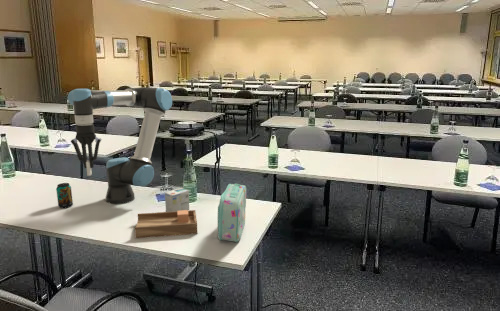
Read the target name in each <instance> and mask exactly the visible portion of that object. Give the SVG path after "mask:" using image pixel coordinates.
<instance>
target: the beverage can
mask: <svg viewBox="0 0 500 311" xmlns="http://www.w3.org/2000/svg"><path fill="white" fill-rule="evenodd" d="M55 191H56V198H57V205H58V207H59V208H61V209H67V208H71V207H72V206H73V205H74V201H73V194H72V187H71V184H70V183H67V182H62V183H59V184H57V187H56V189H55Z"/></svg>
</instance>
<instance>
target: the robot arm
mask: <svg viewBox="0 0 500 311" xmlns="http://www.w3.org/2000/svg"><path fill="white" fill-rule="evenodd" d="M67 100H68V103H69V105H71V106H73V110H74V122H75V137H74V138H72V139H71V140H70V143H71V144H72V145H73V148H74V150H75V154H76V155H77V159H78V160H79V161H81V162H83V168H84V169H86V175H87V177H91V176H92V175H93V173H92V169H93V168H94V161H95V160H97V159H98V154H99V148H100V143H101V142H102V138H100V137H97V135H96V133H95V125H94V122H95V121H94V111H93V110H96V109H106V108H110V107H112V106H122V105H123V106H127V107H135V108H142V110H143V111H144V116H143V120H142V124H141V127H140V131H139V136H138V139H137V143H136V147H135V150H134V155H132V156H131V157H130V158H128V157H125V156H123V157H117V158H116V157H115V158H112V159H109V160H107V161H106V168H105V169H106V177H107V178H106V179H107V187H108V188H107V191H106V194H105V201H106V203H108V204H113V205H122V204H127V203H129V202H132V201H133V200H135V197H136V196H135V192H134V190H133V187H132V185H133V186H135V187H145V186H147V185H150V183H151V182H152V181H153V179H154V176H155V171H154V170H155V169H154V167H153V166H152V164H153V162H152V161H151V157H152V153H153V149H154V145H155V141H156V139H157V133H158V130H159V126H160V122H161V119H162V118H163V117H164V116H165V114H166V112H167V111H169V110H170V109H171V108H172V106H173V96H172V94H171V92H170V91H169V90H168V89H166V88H163V87H149V86H148V87H147V86H142V87H136V88H135V87H134V88H126V89H124V90H117V89H116V90H112V89H111V90H104V89H103V90H97V89H96V90H94V89H93V90H91V89H90V88H75V89H72V90H71V91H69V93H68V95H67ZM94 141H95V146H94V151H93V143H94ZM78 142H79V144H80V145H81V149H80V147H79V144H78ZM87 150H88V151H87ZM81 151H82V152H81ZM87 152H88V156H87Z"/></svg>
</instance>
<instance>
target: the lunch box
mask: <svg viewBox="0 0 500 311" xmlns="http://www.w3.org/2000/svg"><path fill="white" fill-rule="evenodd" d="M246 205H247V186H246V185H243V184H240V183H234V184H233V183H228V184H227V186H226V189H225V190H224V191H223V193H222V194H221V195H220V198H219V204H218V206H217V237H218V240H220V241H228V242H235V243H238V242H239V240H240V239H241V237H242V235H243V231H244V229H245V228H244V227H245V224H246V208H247V206H246Z"/></svg>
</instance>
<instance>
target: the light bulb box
mask: <svg viewBox="0 0 500 311" xmlns="http://www.w3.org/2000/svg"><path fill="white" fill-rule="evenodd" d="M164 203H165V212H173V211H181V210H188V211H189V210H190V192H189V189H186V188H183V187H180V188H176V189H175V188H174V189H172V190H168V191H165V192H164Z"/></svg>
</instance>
